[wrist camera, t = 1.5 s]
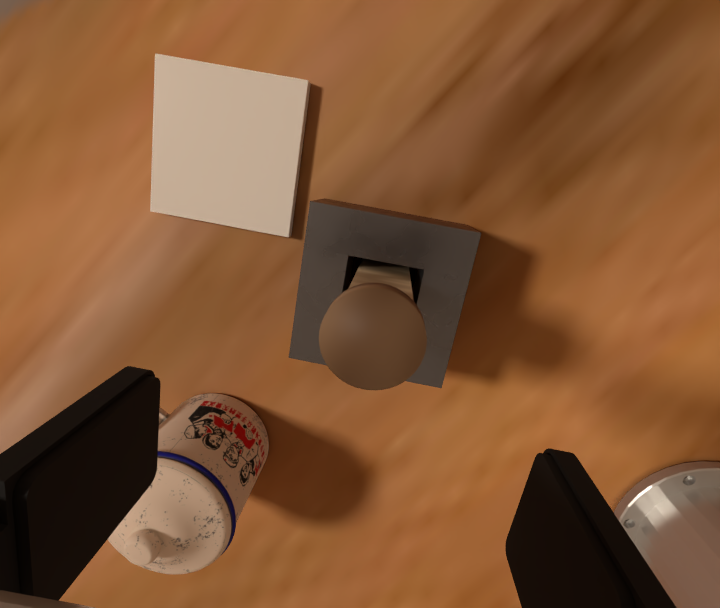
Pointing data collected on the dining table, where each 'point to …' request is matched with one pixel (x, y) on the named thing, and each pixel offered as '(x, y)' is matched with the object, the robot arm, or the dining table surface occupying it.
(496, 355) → the dining table surface
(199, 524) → the teacup with lid
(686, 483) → the robot arm
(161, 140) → the tile
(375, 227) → the eye block
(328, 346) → the peg
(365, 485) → the dining table surface
